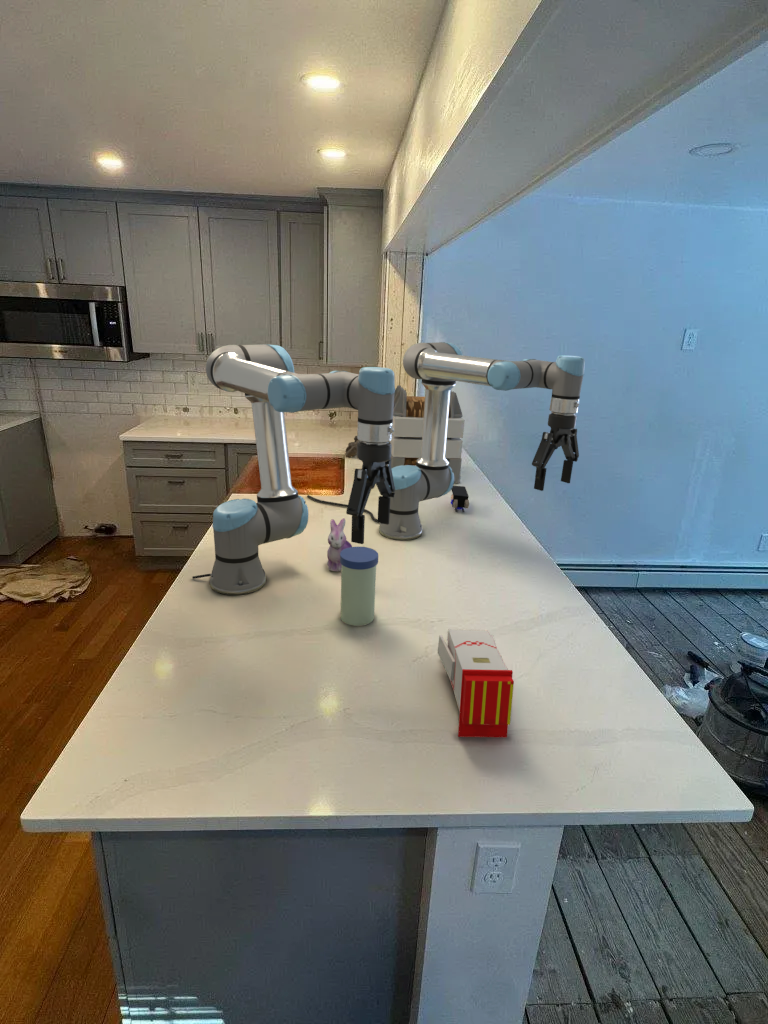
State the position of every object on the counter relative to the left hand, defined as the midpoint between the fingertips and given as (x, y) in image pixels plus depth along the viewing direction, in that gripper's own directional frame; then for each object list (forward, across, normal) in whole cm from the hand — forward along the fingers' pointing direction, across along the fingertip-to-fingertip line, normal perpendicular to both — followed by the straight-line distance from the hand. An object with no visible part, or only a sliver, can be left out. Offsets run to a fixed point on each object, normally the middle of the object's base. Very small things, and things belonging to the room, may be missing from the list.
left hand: (370, 532), depth 130 cm
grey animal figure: (+26, +158, +83) cm, 180 cm away
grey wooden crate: (+26, +141, +40) cm, 149 cm away
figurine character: (+26, +101, +8) cm, 105 cm away
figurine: (+26, +30, +24) cm, 46 cm away
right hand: (-2, +56, -32) cm, 65 cm away
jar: (+26, +5, +5) cm, 27 cm away
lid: (+9, +5, +5) cm, 12 cm away
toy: (+26, -10, -29) cm, 41 cm away
